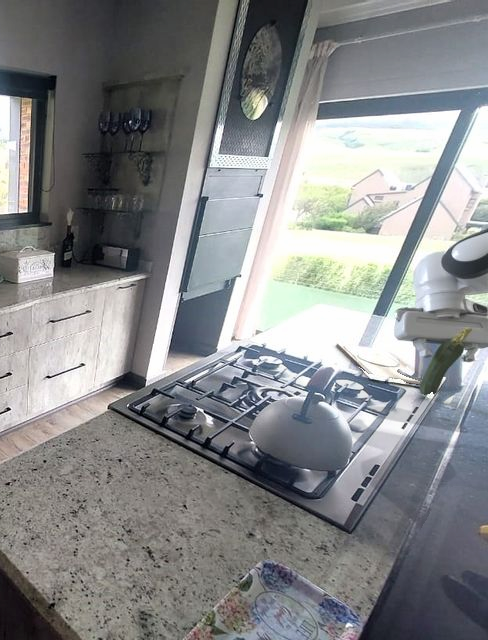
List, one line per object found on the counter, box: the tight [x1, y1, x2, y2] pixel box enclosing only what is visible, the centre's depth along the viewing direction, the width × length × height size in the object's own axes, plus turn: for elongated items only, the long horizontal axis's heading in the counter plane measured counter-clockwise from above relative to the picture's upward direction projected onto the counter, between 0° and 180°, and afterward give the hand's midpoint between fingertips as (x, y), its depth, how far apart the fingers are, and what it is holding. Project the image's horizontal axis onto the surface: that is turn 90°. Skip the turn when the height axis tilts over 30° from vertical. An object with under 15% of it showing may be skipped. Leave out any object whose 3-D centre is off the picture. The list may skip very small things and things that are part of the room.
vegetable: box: [419, 327, 472, 396], centre depth 104 cm, size 4×4×20 cm
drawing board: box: [335, 343, 420, 385], centre depth 125 cm, size 14×26×1 cm, turn 160°
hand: (447, 359), depth 103 cm, fingers open, 8 cm apart
